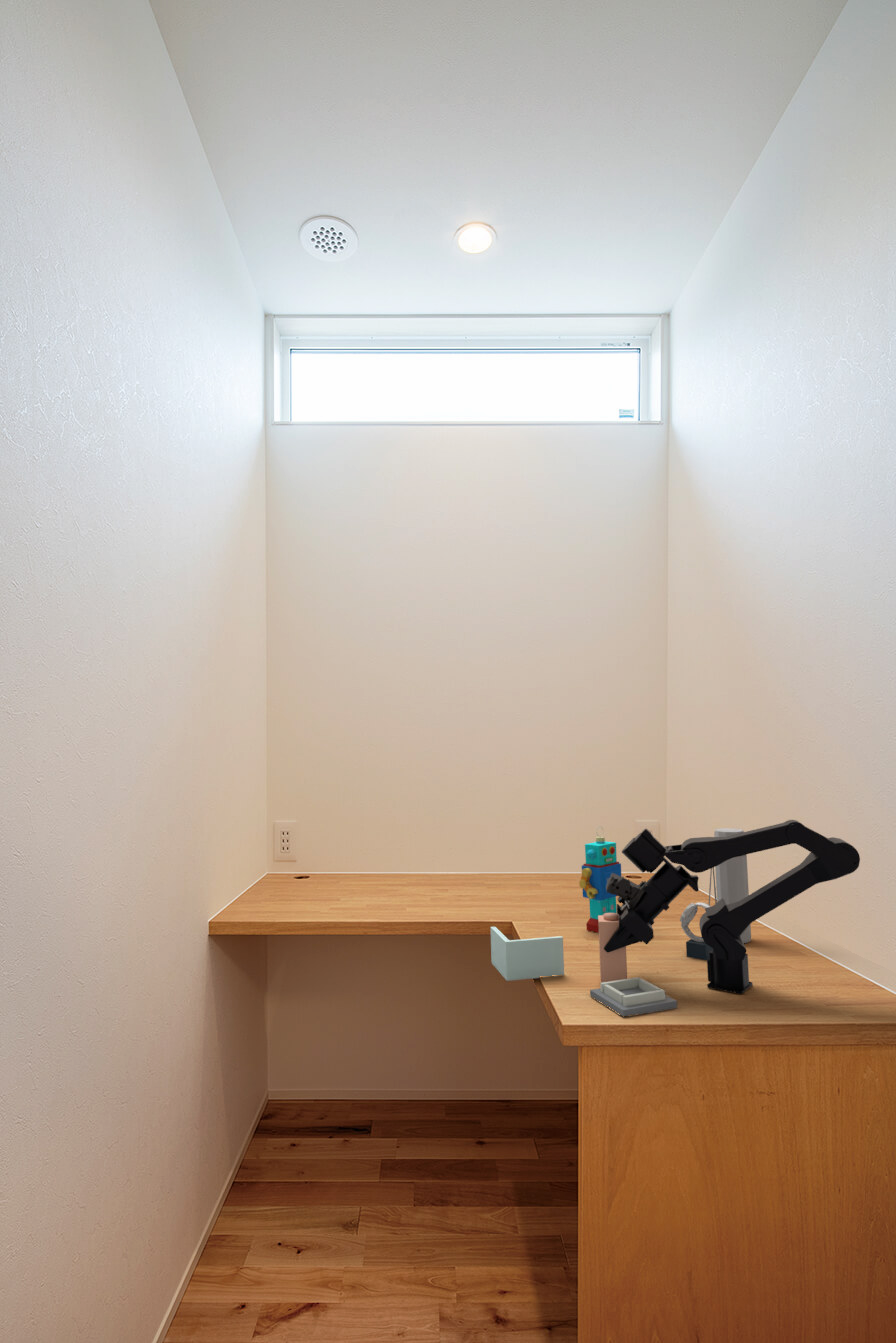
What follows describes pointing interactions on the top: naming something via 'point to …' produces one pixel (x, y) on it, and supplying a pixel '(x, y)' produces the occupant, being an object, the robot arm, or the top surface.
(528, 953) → the l-shaped corner panel
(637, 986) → the socket plate
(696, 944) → the watch
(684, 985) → the top surface
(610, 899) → the toy robot
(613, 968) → the pillar
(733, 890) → the water bottle
